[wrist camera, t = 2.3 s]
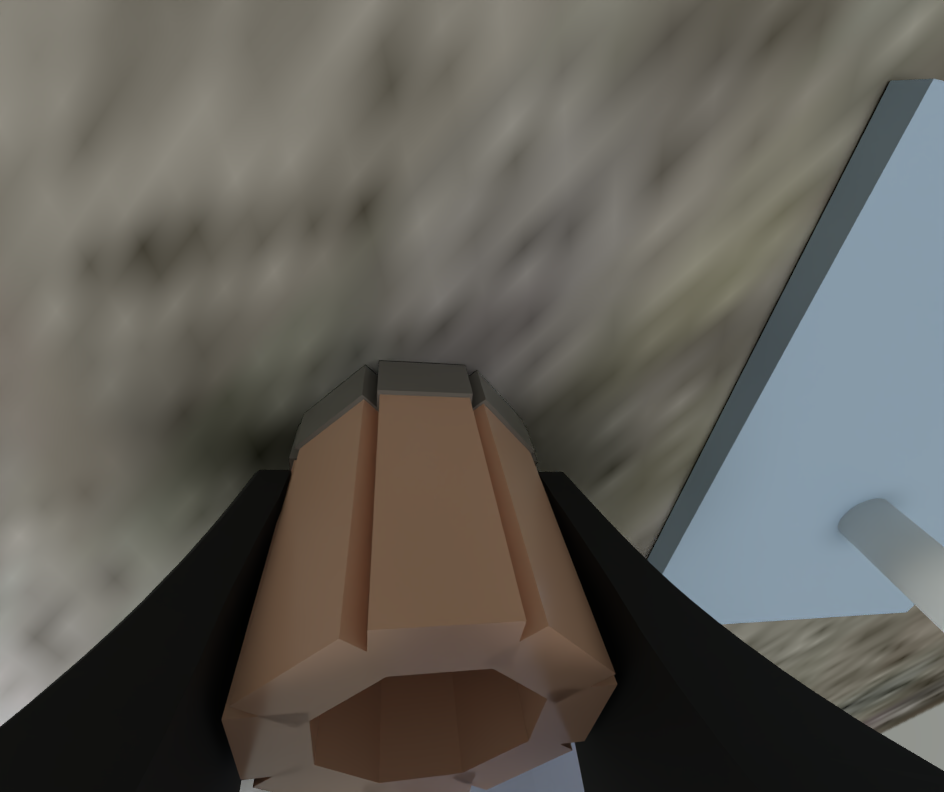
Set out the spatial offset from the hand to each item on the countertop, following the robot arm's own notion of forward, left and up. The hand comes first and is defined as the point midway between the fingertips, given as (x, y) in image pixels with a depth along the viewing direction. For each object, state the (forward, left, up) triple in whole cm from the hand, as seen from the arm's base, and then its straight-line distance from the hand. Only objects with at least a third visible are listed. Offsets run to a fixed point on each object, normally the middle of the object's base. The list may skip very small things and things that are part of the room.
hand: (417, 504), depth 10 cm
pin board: (+1, -14, -2) cm, 14 cm away
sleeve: (0, 0, -2) cm, 2 cm away
